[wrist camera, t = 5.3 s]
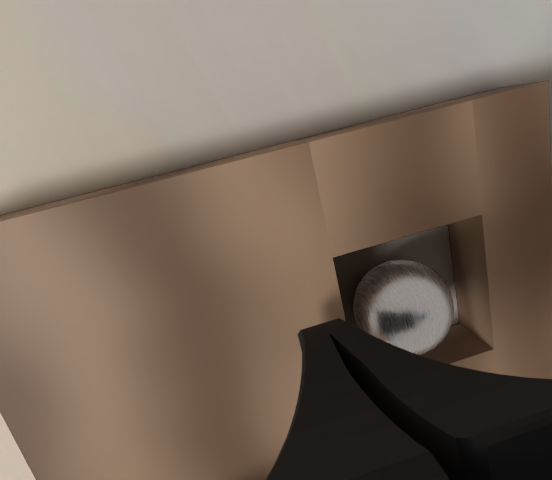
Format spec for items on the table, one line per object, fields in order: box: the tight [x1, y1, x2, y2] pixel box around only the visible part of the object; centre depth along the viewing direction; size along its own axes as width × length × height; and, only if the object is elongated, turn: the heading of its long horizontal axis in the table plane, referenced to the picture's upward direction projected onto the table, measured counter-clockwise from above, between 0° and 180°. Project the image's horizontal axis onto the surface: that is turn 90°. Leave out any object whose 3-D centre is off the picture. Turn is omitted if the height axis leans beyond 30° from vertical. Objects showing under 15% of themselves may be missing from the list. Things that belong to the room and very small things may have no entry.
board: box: [0, 81, 552, 480], centre depth 14 cm, size 18×16×2 cm
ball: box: [353, 260, 454, 355], centre depth 14 cm, size 3×3×3 cm
